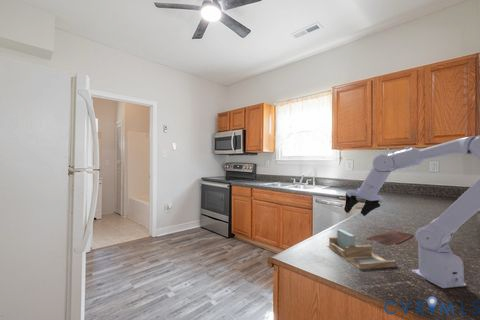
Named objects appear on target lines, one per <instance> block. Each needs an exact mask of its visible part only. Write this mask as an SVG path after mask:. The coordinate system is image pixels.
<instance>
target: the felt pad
mask: <svg viewBox="0 0 480 320" xmlns="http://www.w3.org/2000/svg"><path fill="white" fill-rule="evenodd" d="M354 260H355V261H357V262H358V263H366V262H378V261H380V260H378V259H376V258H375V257H367V258H355V259H354Z"/></svg>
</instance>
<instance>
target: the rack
mask: <svg viewBox="0 0 480 320" xmlns="http://www.w3.org/2000/svg"><path fill="white" fill-rule="evenodd" d="M328 241H329V242H328V243H329V244H328V245H326V247H328V248H329V249H330V250H332V251H333V252H334V253H336V254H338V255H339V256H340V257H342V258H344V259H345V260H346V261H348V262H349V263H351V264H352V265H354V266H355V267H357V268H358V269H360V270H368V269H369V270H372V269H380V268H390V267H391V268H392V267H393V268H394V267H397V265H398V264H397V262H398V261H397V260H396V259H393V260H387V259H384V258H382V257H380V256H379V255H377V254H375V253H373V251H372V249H373V247H372V246H373V245H371V244H365V245H364V244H363V245H360V246H348V247H345V251H344V250H343V249H341V248H340V247H338V246H337V236H334V237H331V236H330V237H329V240H328ZM367 257H375V258H376V259H378V260H380V261H378V262H366V263H358V262H357V261H355V260H354V259H355V258H367Z"/></svg>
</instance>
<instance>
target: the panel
mask: <svg viewBox="0 0 480 320" xmlns="http://www.w3.org/2000/svg"><path fill="white" fill-rule="evenodd" d="M336 237H337V246H338V247H340V248H341V249H343V250H344V251H345V247H348V246H355V243H356V236H355V235H354V234H352V233H350V232H348V231H346V230H344V229H341V228H340V229H336Z"/></svg>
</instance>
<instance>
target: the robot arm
mask: <svg viewBox="0 0 480 320" xmlns="http://www.w3.org/2000/svg"><path fill="white" fill-rule="evenodd" d="M458 153H459V154H463V155H473V157H475V158H476V159H477V160H478V162H480V135H477V136H476V135H472V136H467V137H462V138H457V139H456V138H455V139H453V140H450V141H447V142H442V143H439V144H436V145H433V146H428V147H426V148H423V149H422V148H421V149H419V148H416V147H414V146H413V147H411V146H406V147H404V148H403V149H402V150H398V151H395V152H394V151H389V152H388V154H379V155H377V156H375V157H374V159H373V160H372V167H371V169H370V171H369V172H368V173H367V175H366V177H365V178H364V180H363V182H362V184H361V186H360V187H358V188H356V189H347V191H346V193H345V203H344V208H343V210H344V212H345V213H347V214H349V213H350V212H351V210H352V209H353V207H355V205H357V204H359V201H358V200H357V198H360V199H364V200H365V202H364V205H363V207H362V208H361V210H360V214H361V215H362V216H363V217H365V216H366V215H368V214H369V213H371V212H372V211H374V210H375V209H378V208H380V207H381V203H382V202H383V201H384V198H383V196H381V195H378V193H379V191H380V189H381V188H382V187H383V185H384V183H386V181H387V179H388V177H389V176H390V174H391V173H392V172H395V171H396V170H400V169H405V168H410V167H415V166H419V165H421V164H422V163H423V162H424V160H426V159H433V158H438V157H444V156H448V155H452V154H458ZM479 211H480V178H478V180H476V181H475V182H474V183H473V184H472V185H471V186H470V187H469V188H468V189H466V191H464V193H462V194H461V195H460V196H459V197H458V198H457V199H456V200H455V201H454V202H453V203H451V205H449V206H448V207H447V208H446V209H445V210H444V211H443V212H442V213H441V214H440V215H439V216H438V217H437V218H435V219H433V220H432V221H431V222H430V223H429V224H427V225H425V226H422V227H419V228H417V229H416V230H415V233H414V237H415V241H416V242H417V244H418V246H417V247H418V268H417V269H412V270H411V271H412V272H413V273H414V274H417V275H419V276H421V277H423V278H424V279H425V280H426V281H428V282H430V283H432V284H434V285H436V286H438V287H440V288H442V289H449V288H458V287H466V286H467V284H466V283H465V281H464V279H465V276H464V275H465V273H464V267H465V266H464V262H463V260H462V258H461V257H460V256H458V255H456V254H455V253H453V252H452V251H451V247H450V245H449V243H450V242H451V241H452V239H453V235H454V233H455V232H456V231H458V229H459V228H460V227H461V226H462V225H463V224H464V223H465V222H467V221H468V220H469V219H470V218H472V216H474V215H475V214H476V213H478V212H479Z"/></svg>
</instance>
